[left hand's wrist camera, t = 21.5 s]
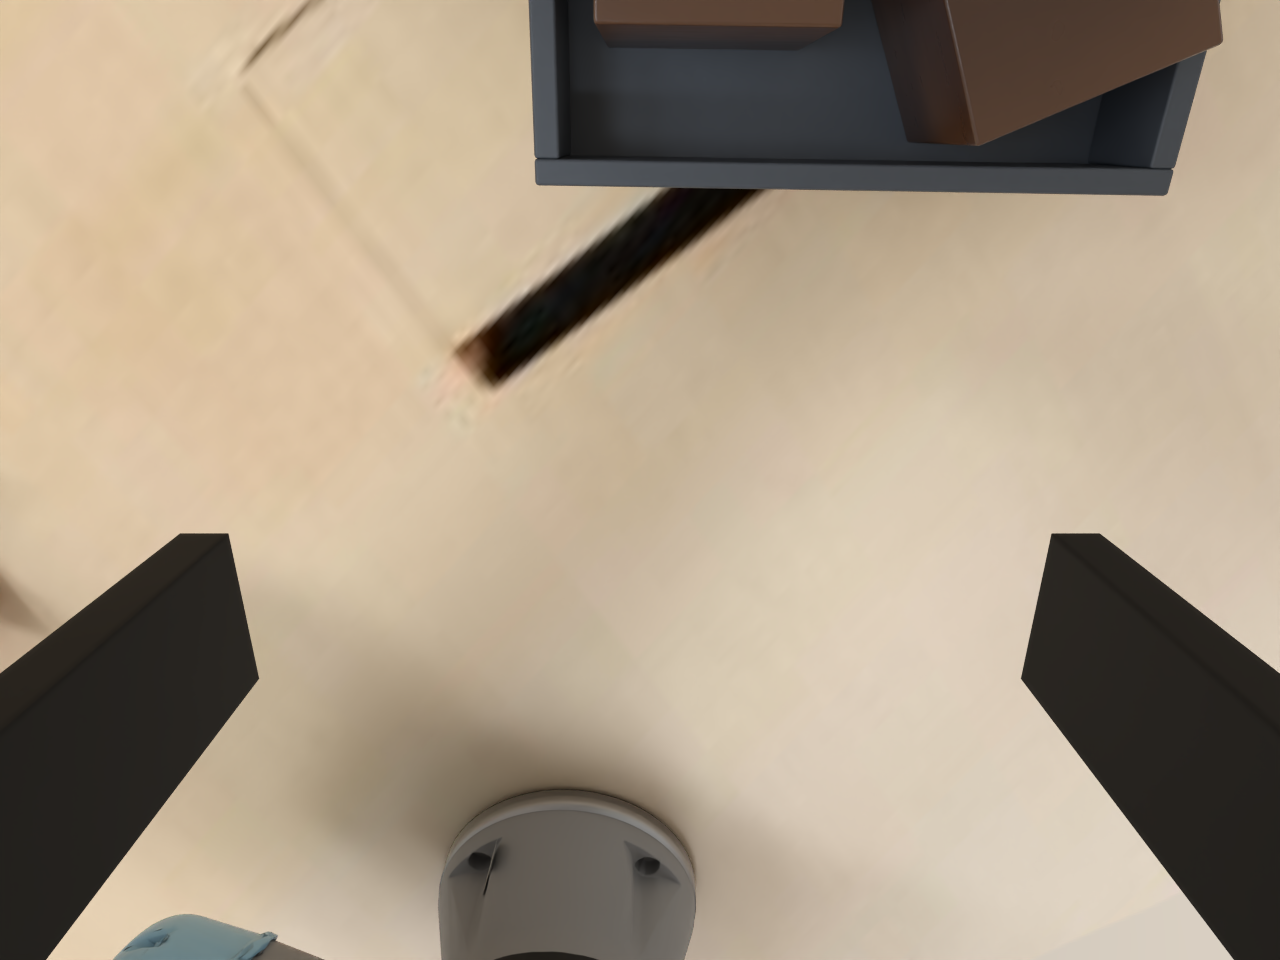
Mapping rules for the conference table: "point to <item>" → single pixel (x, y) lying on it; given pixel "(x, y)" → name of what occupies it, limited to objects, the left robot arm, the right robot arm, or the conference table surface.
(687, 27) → the cube
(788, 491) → the conference table surface
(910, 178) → the tray
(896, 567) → the conference table surface
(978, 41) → the cube
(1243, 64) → the conference table surface
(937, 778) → the conference table surface
